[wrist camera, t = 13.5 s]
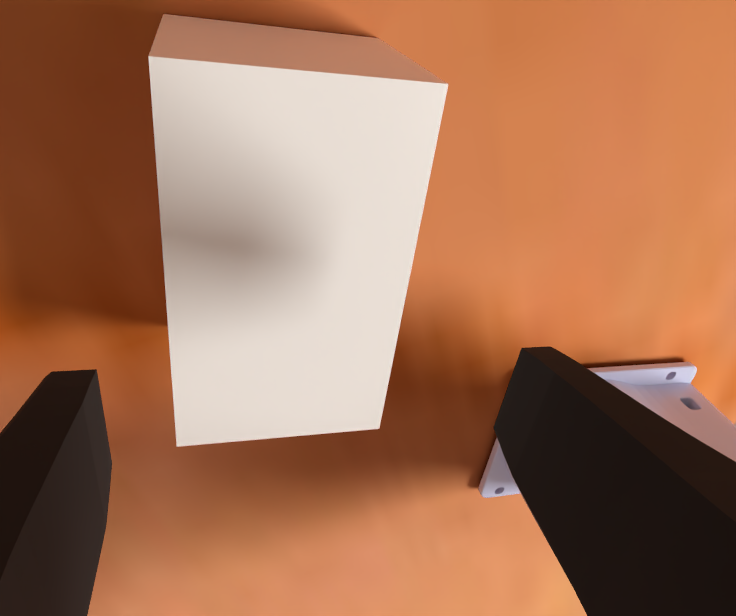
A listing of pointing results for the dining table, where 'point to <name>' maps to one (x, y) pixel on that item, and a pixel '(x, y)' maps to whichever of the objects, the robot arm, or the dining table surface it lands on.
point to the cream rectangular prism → (286, 221)
